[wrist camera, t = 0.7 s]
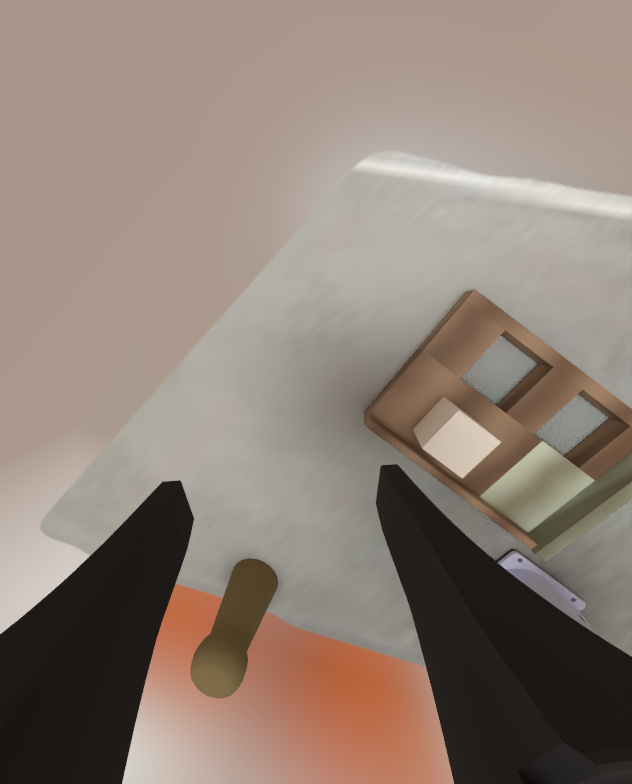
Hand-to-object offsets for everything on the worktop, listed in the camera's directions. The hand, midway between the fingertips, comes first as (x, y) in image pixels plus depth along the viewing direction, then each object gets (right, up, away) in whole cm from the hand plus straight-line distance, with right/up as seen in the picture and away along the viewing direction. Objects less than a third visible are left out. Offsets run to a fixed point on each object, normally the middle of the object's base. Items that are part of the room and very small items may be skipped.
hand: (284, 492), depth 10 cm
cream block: (+13, +1, +15) cm, 20 cm away
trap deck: (+18, +1, +16) cm, 24 cm away
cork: (-7, -20, +25) cm, 33 cm away
